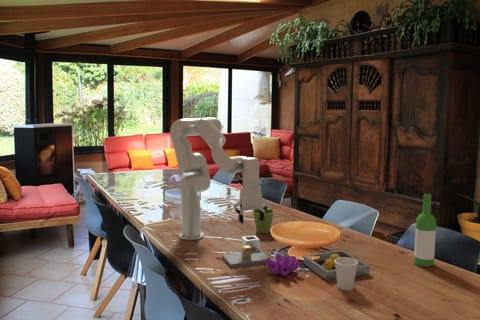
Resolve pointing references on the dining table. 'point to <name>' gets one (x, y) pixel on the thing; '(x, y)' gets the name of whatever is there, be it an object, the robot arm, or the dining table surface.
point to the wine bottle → (425, 235)
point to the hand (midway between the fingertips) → (251, 221)
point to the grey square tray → (331, 274)
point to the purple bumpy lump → (283, 264)
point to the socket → (251, 242)
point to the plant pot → (266, 223)
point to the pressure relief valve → (331, 261)
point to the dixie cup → (345, 272)
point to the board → (247, 261)
